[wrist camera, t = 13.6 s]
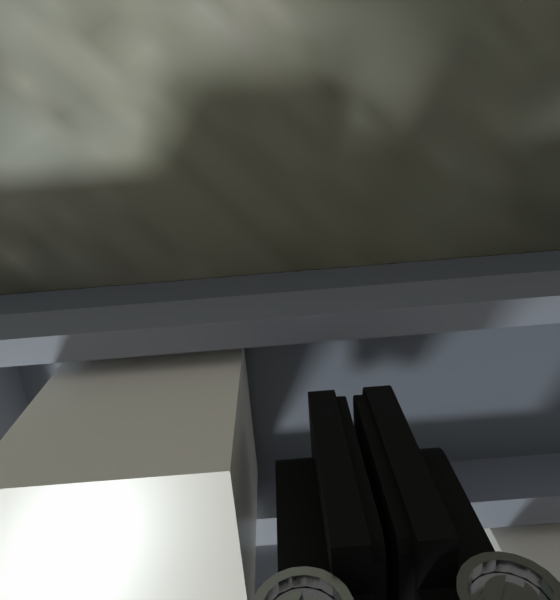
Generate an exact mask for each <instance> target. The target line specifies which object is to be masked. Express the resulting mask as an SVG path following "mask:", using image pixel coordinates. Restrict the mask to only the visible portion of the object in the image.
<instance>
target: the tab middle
mask: <svg viewBox="0 0 560 600" xmlns="http://www.w3.org/2000/svg"><path fill="white" fill-rule="evenodd" d="M484 530H485V532H486V534H487V536H488V538H489V540H490V542H491V544H492V546H493V548H494V550H495V552H496V551H500V552H506V553H512V554H517V555H519V556H522V557H524V558H527V559H530V560H532V561H534V562H535V563H537V564H538V565H540V566H542V567H543V568H545V569H546V570H548V571H549V572H550V573H551V574H552V575H553V576H554V577H555V578H556V579H557V580H558V581H559V582H560V523H548V524H535V525H523V526H510V527H497V528H484Z"/></svg>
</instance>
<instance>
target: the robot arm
mask: <svg viewBox="0 0 560 600" xmlns="http://www.w3.org/2000/svg"><path fill="white" fill-rule="evenodd" d="M308 407H309V422H310V437H311V452H312V457H310V458H297V459H285V460H276V461H275V475H276V516H277V558H278V572H277V573H276V574H274V575H273V576H272V577H270V578H269V579H267V580H266V581H265V582H264V583H263V584H262V585H261V587H260V588H259V589H258V591H257V592H256V593H255V596H254V598H253V600H560V582H559V581H558V580H557V579H556V578H555V577H554V576H553V575H552V574H551V573H550V572H549V571H548V570H546V569H545V568H543V567H542V566H540V565H538V564H537V563H535V562H534V561H532V560H530V559H527V558H524V557H522V556H519V555H517V554H512V553H506V552H500V551H496V552H495V550H494V548H493V546H492V544H491V542H490V540H489V538H488V536H487V534H486V532H485V530H484V528H483V526H482V524H481V522H480V521H479V519H478V517H477V515H476V513H475V511H474V509H473V507H472V505H471V503H470V501H469V499H468V497H467V495H466V493H465V491H464V489H463V487H462V485H461V484H460V482H459V480H458V478H457V476H456V474H455V472H454V470H453V468H452V466H451V464H450V462H449V460H448V458H447V456H446V454H445V453H444V451H443V450H442V449H441V448H439V447H437V448H424V449H419V447H418V445H417V443H416V440H415V438H414V436H413V434H412V431H411V429H410V427H409V425H408V422H407V420H406V418H405V416H404V413H403V411H402V409H401V407H400V404H399V402H398V400H397V398H396V395H395V393H394V391H393V389H392V387H391V386H390V385H386V386H373V387H363V390H362V395H354V396H353V417H354V424H353V421H352V417H351V413H350V410H349V406H348V402H347V399H346V396H338V397H336V393H335V390H323V391H310V392H308Z"/></svg>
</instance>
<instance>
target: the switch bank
mask: <svg viewBox="0 0 560 600" xmlns="http://www.w3.org/2000/svg"><path fill="white" fill-rule="evenodd" d="M239 348H244V352H245V361H246V370H247V379H248V388H249V397H250V406H251V415H252V424H253V433H254V442H255V451H256V460H257V469H258V482H257V519H256V556H255V593H256V592H257V591H258V589H259V588H260V587H261V585H262V584H263V583H264V582H265V581H266V580H267V579H269V578H270V577H272V576H273V575H274V574H276V573H277V572H278V558H277V516H276V475H275V461H276V460H285V459H297V458H310V457H312V452H311V437H310V422H309V407H308V392H310V391H323V390H335V393H336V397H338V396H346V399H347V402H348V406H349V410H350V413H351V417H352V421H353V424H354V417H353V396H354V395H362V390H363V387H373V386H386V385H390V386H391V387H392V389H393V391H394V393H395V395H396V398H397V400H398V402H399V404H400V407H401V409H402V411H403V413H404V416H405V418H406V420H407V422H408V425H409V427H410V429H411V431H412V434H413V436H414V438H415V440H416V443H417V445H418V447H419V449H424V448H437V447H439V448H441V449H442V450H443V451H444V453H445V454H446V456H447V458H448V460H449V462H450V464H451V466H452V468H453V470H454V472H455V474H456V476H457V478H458V480H459V482H460V484H461V485H462V487H463V489H464V491H465V493H466V495H467V497H468V499H469V501H470V503H471V505H472V507H473V509H474V511H475V513H476V515H477V517H478V519H479V521H480V522H481V524H482V526H483V528H497V527H510V526H523V525H535V524H548V523H560V250H557V251H544V252H532V253H519V254H507V255H494V256H482V257H469V258H457V259H444V260H432V261H419V262H407V263H394V264H382V265H369V266H357V267H344V268H332V269H319V270H307V271H294V272H282V273H269V274H257V275H244V276H232V277H220V278H207V279H195V280H182V281H170V282H157V283H145V284H132V285H120V286H107V287H95V288H82V289H70V290H57V291H45V292H32V293H20V294H7V295H0V440H1V439H2V438H3V436H4V435H5V434H6V433H7V431H8V430H9V429H10V428H11V426H12V425H13V424H14V423H15V421H16V420H17V419H18V418H19V416H20V415H21V414H22V413H23V411H24V410H25V409H26V408H27V406H28V405H29V404H30V403H31V401H32V400H33V399H34V398H35V396H36V395H37V394H38V393H39V391H40V390H41V389H42V388H43V386H44V385H45V384H46V383H47V381H48V380H49V379H50V378H51V377H52V375H53V374H54V373H55V372H56V370H57V369H58V368H59V367H60V365H61V364H62V363H63V362H75V361H88V360H100V359H113V358H126V357H138V356H151V355H163V354H176V353H189V352H201V351H214V350H226V349H239ZM254 596H255V594H254Z"/></svg>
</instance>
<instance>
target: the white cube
mask: <svg viewBox="0 0 560 600" xmlns="http://www.w3.org/2000/svg"><path fill="white" fill-rule="evenodd" d="M257 482H258V469H257V460H256V451H255V442H254V433H253V424H252V415H251V406H250V397H249V388H248V379H247V370H246V361H245V352H244V348H239V349H226V350H214V351H201V352H189V353H176V354H163V355H151V356H138V357H126V358H113V359H100V360H88V361H75V362H63V363H62V364H61V365H60V367H59V368H58V369H57V370H56V372H55V373H54V374H53V375H52V377H51V378H50V379H49V380H48V381H47V383H46V384H45V385H44V386H43V388H42V389H41V390H40V391H39V393H38V394H37V395H36V396H35V398H34V399H33V400H32V401H31V403H30V404H29V405H28V406H27V408H26V409H25V410H24V411H23V413H22V414H21V415H20V416H19V418H18V419H17V420H16V421H15V423H14V424H13V425H12V426H11V428H10V429H9V430H8V431H7V433H6V434H5V435H4V436H3V438H2V439H1V440H0V600H253V598H254V594H255V556H256V519H257Z"/></svg>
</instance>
